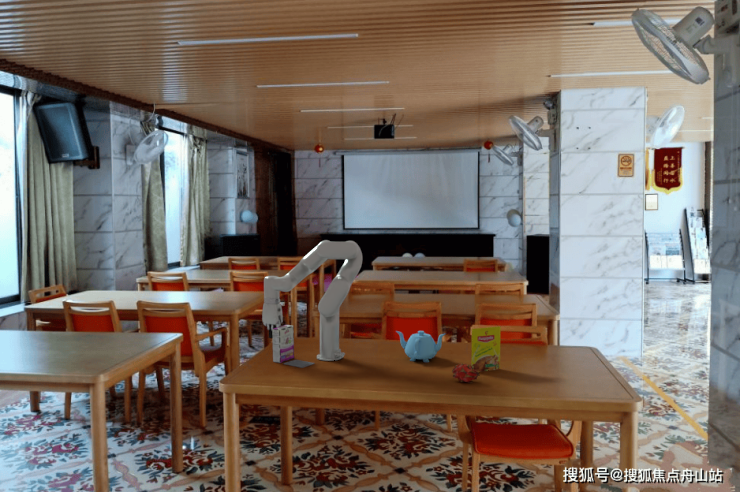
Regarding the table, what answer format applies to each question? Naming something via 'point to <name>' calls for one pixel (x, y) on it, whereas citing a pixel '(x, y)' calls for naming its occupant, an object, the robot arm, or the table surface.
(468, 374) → the dragon fruit
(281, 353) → the candy bar box
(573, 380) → the table surface
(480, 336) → the food package
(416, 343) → the teapot
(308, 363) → the mat
